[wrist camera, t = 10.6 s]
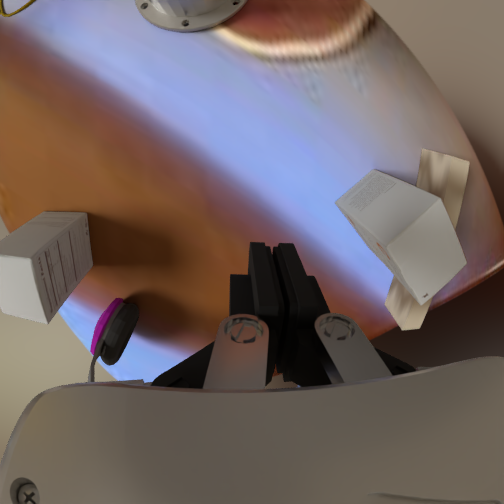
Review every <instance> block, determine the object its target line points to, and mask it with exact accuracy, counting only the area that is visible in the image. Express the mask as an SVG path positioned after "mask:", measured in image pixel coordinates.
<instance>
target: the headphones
mask: <svg viewBox="0 0 504 504" xmlns="http://www.w3.org/2000/svg"><path fill="white" fill-rule="evenodd" d="M138 318H139V309H138V307H137V306H136V305H135V304H132V303H129V304H125V303H123V299H122V298H116V299H115V300H114V301H113V302H112V303H111V304H110V305H109V307H108V308H107V309H106V310H105V311H104V313H103V314H102V315H101V317H100V318H99V320H98V322H97V324H96V327H95V330H94V334H93V339H92V344H91V351H90V352H91V353H92V354H93V355H94V356H93V360H92V363H91V367H90V371H89V376H88V382H94V365H95V362H96V359H97V358H98V357H99V356H101V359H102V360H103V362H104V363H105V364H107V365H114V364H115V363H116V362H117V361H118V360H119V359H120V357H121V355H122V353H123V351H124V349H125V348H126V345H127V343H128V341H129V339H130V337H131V335H132V333H133V330H134V328H135V326H136V323H137V321H138Z"/></svg>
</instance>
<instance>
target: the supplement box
mask: <svg viewBox="0 0 504 504" xmlns="http://www.w3.org/2000/svg"><path fill="white" fill-rule="evenodd" d="M92 266H93V261H92V254H91V245H90V237H89V227H88V218H87V213H82V212H43V213H41V214H39V215H38V216H36V217H34V218H33V219H31V220H30V221H28V222H27V223H25V224H24V225H22V226H21V227H19V228H18V229H16V230H15V231H13V232H12V233H11V234H9V235H8V236H6V237H5V238H4V239H2V240H1V241H0V308H1V310H2V313H4V314H8V315H12V316H16V317H19V318H23V319H27V320H31V321H36V322H40V323H44V324H49V322H50V321H51V319H52V318H53V317H54V315H55V314H56V313H57V311H58V310H59V309H60V307H61V306H62V305H63V303H64V302H65V301H66V299H67V298H68V297H69V295H70V294H71V293H72V291H73V290H74V289H75V288H76V286H77V285H78V284H79V283H80V281H81V280H82V279H83V278H84V276H85V275H86V274H87V273H88V271H89V270H90V269H91V268H92Z"/></svg>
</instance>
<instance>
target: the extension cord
mask: <svg viewBox="0 0 504 504" xmlns="http://www.w3.org/2000/svg"><path fill="white" fill-rule="evenodd" d="M34 1H35V0H30V1H29V2H28V3H27V4H25V5H24V6H23V7H21V8H20V9H18V10H17V11H15V12H13V13H11V14H8V15H7V14H5V13H3V9H2V0H0V10H1V11H0V14H2V16H4V17H10V16H12V15H14V14H16V13H18V12H20V11H22V10H24V9H25V8H27V7H28V6H29V5H31V4H32V3H33V2H34Z"/></svg>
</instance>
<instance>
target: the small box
mask: <svg viewBox="0 0 504 504" xmlns="http://www.w3.org/2000/svg"><path fill="white" fill-rule="evenodd" d="M335 204H336V205H337V206H338V208H339V209H340V210H341V212H342V213H343V214H344V216H345V217H346V218H347V220H348V221H349V222H350V224H351V225H352V226H353V228H354V229H355V230H356V232H357V233H358V234H359V236H360V237H361V238H362V240H363V241H364V242H365V244H366V245H367V246H368V248H369V249H370V250H371V251H372V252H373V253H374V254H375V255H376V256H377V257H378V258H379V259H380V260H381V261H382V262H383V263H384V264H385V265H386V266H387V267H388V269H389V270H390V271H391V272H392V273H393V274H394V275H395V277H396V278H397V279H398V280H399V281H400V282H401V283H402V285H403V286H404V287H405V288H406V289H407V290H408V291H409V293H410V294H411V295H412V296H413V297H414V298H415V300H416V301H417V302H418V303H419V304H420V305H423V304H424V303H425V302H426V301H428V300H429V299H430V298H431V297H432V296H434V295H435V294H436V293H437V292H438V291H439V290H440V289H441V288H442V287H443V286H445V285H446V284H447V283H448V282H449V281H450V280H451V279H452V278H453V277H454V276H455V275H456V274H457V273H458V272H459V271H460V270H461V269H462V268H463V267H464V266H465V265H466V264H467V260H466V257H465V254H464V252H463V249H462V246H461V244H460V241H459V239H458V236H457V233H456V231H455V229H454V226H453V224H452V221H451V219H450V217H449V215H448V212H447V210H446V208H445V206H444V204H443V201H442V199H441V198H440V197H437V196H435V195H433V194H431V193H429V192H427V191H425V190H422V189H420V188H418V187H416V186H413V185H411V184H409V183H406V182H404V181H402V180H400V179H397V178H395V177H392V176H390V175H387V174H385V173H382V172H380V171H377V170H375V169H373V170H371V171H370V172H369V173H368V174H367V175H366V176H365V177H363V178H362V179H361V180H360V181H359V182H358V183H356V184H355V185H354V186H353V187H352V188H351V189H349V190H348V191H347V192H346V193H345V194H344V195H342V196H341V197H340V198H339V199H338V200H337V201H336V202H335Z"/></svg>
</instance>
